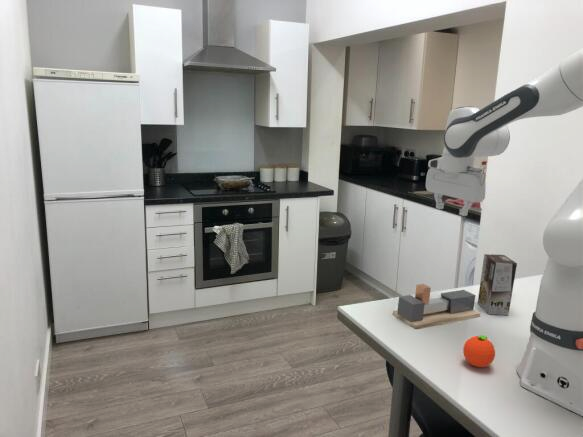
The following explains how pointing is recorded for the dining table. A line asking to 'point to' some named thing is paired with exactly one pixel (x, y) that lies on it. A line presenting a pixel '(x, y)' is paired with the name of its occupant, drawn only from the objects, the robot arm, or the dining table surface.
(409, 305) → the socket block
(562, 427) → the dining table surface
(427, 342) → the dining table surface
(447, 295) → the sleeve
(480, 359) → the clementine
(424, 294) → the bar
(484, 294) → the coffee box
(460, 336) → the dining table surface
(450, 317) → the oak board
